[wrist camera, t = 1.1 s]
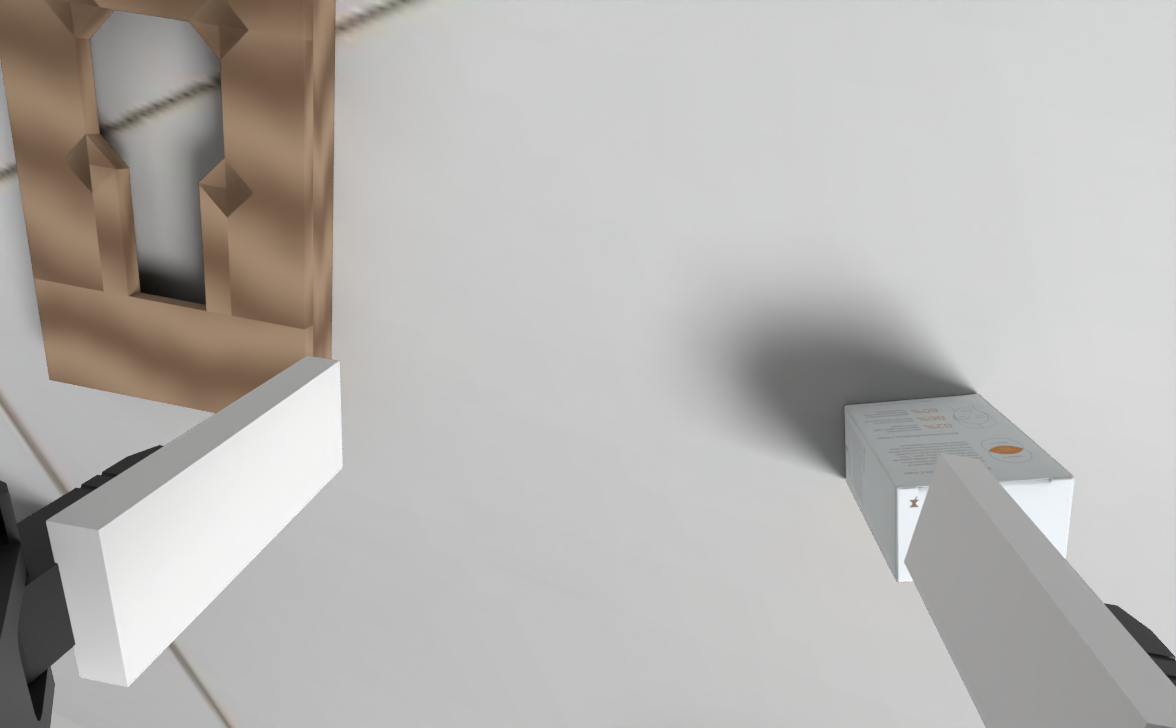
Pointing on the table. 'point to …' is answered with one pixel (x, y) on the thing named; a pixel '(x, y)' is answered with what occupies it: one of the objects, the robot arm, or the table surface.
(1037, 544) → the robot arm
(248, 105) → the keyhole board
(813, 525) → the table surface
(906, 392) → the table surface
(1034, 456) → the small box
